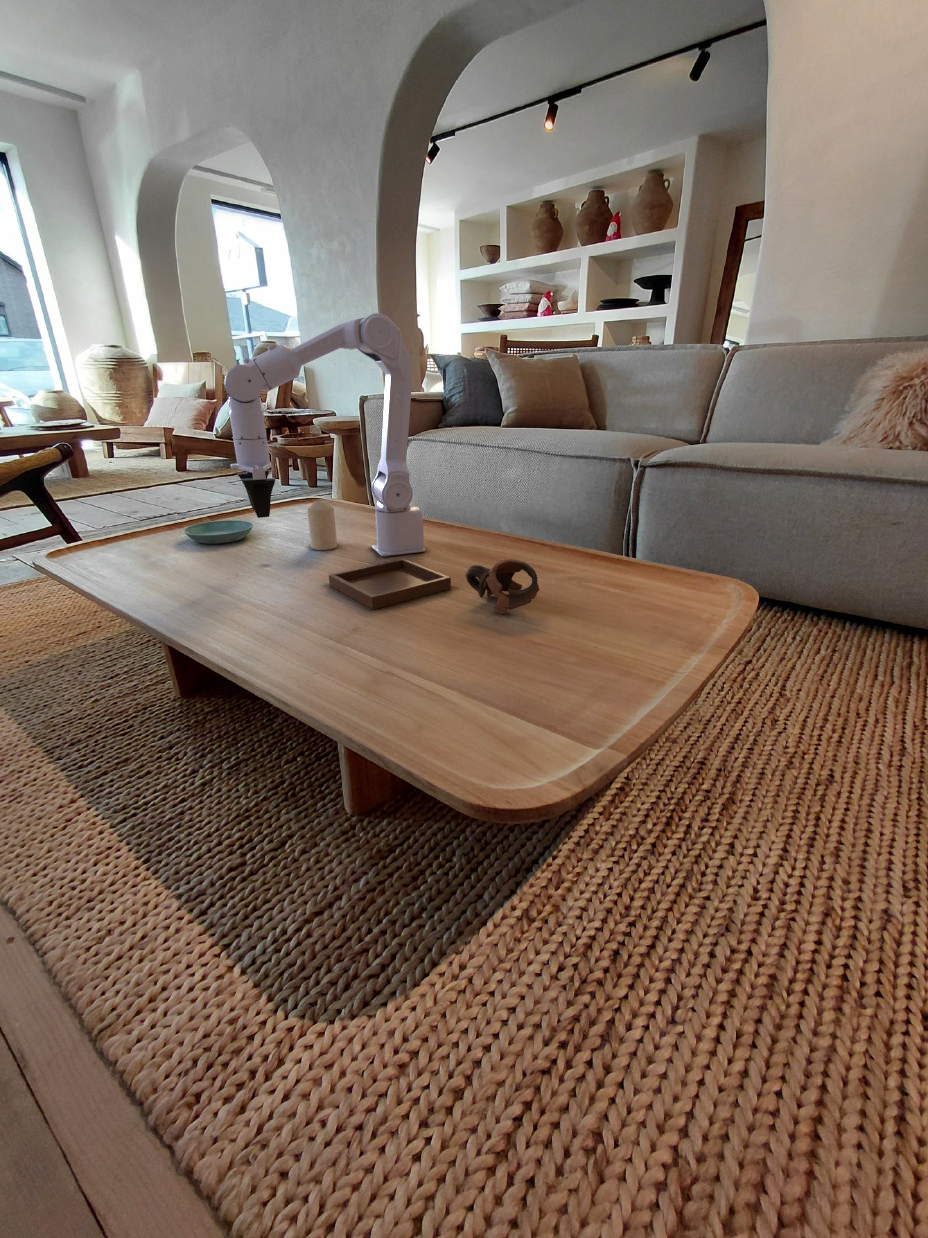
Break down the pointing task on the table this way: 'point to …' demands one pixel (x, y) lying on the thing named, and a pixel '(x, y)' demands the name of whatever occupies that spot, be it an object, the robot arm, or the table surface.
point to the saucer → (218, 531)
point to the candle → (322, 525)
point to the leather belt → (503, 583)
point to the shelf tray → (389, 583)
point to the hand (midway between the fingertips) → (260, 512)
